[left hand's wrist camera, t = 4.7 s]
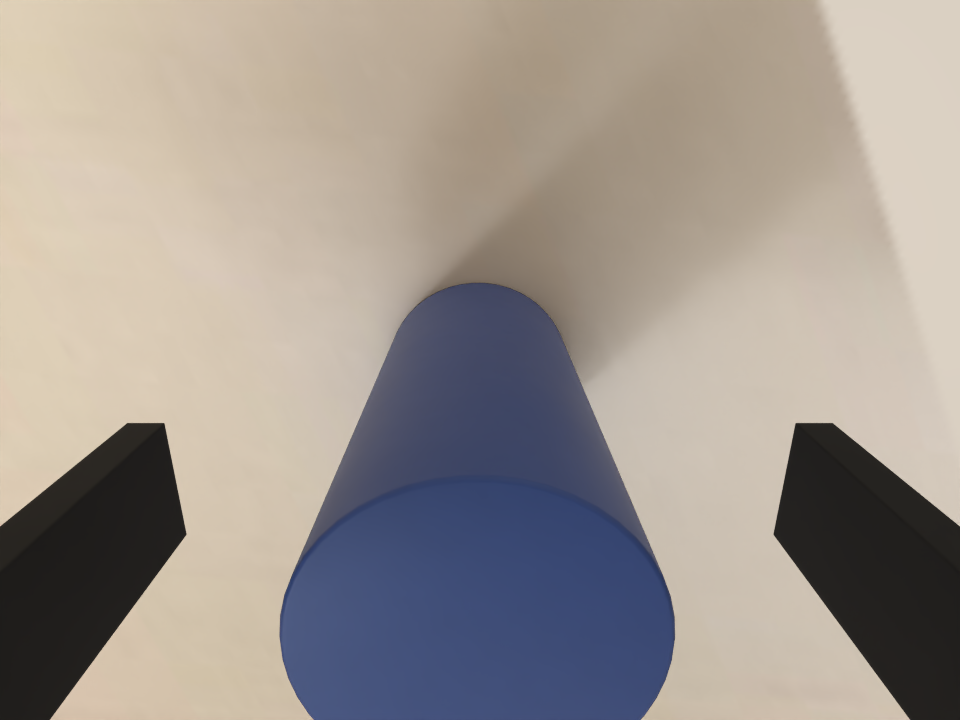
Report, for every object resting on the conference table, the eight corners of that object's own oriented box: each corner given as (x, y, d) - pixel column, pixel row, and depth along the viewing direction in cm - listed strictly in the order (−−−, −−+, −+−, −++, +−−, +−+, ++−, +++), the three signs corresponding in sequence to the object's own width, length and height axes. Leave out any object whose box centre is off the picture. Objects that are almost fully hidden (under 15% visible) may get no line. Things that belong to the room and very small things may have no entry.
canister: (452, 246, 18) (414, 397, 7) (602, 346, 19) (761, 607, 9) (357, 391, 20) (209, 691, 9) (500, 476, 21) (523, 837, 10)
